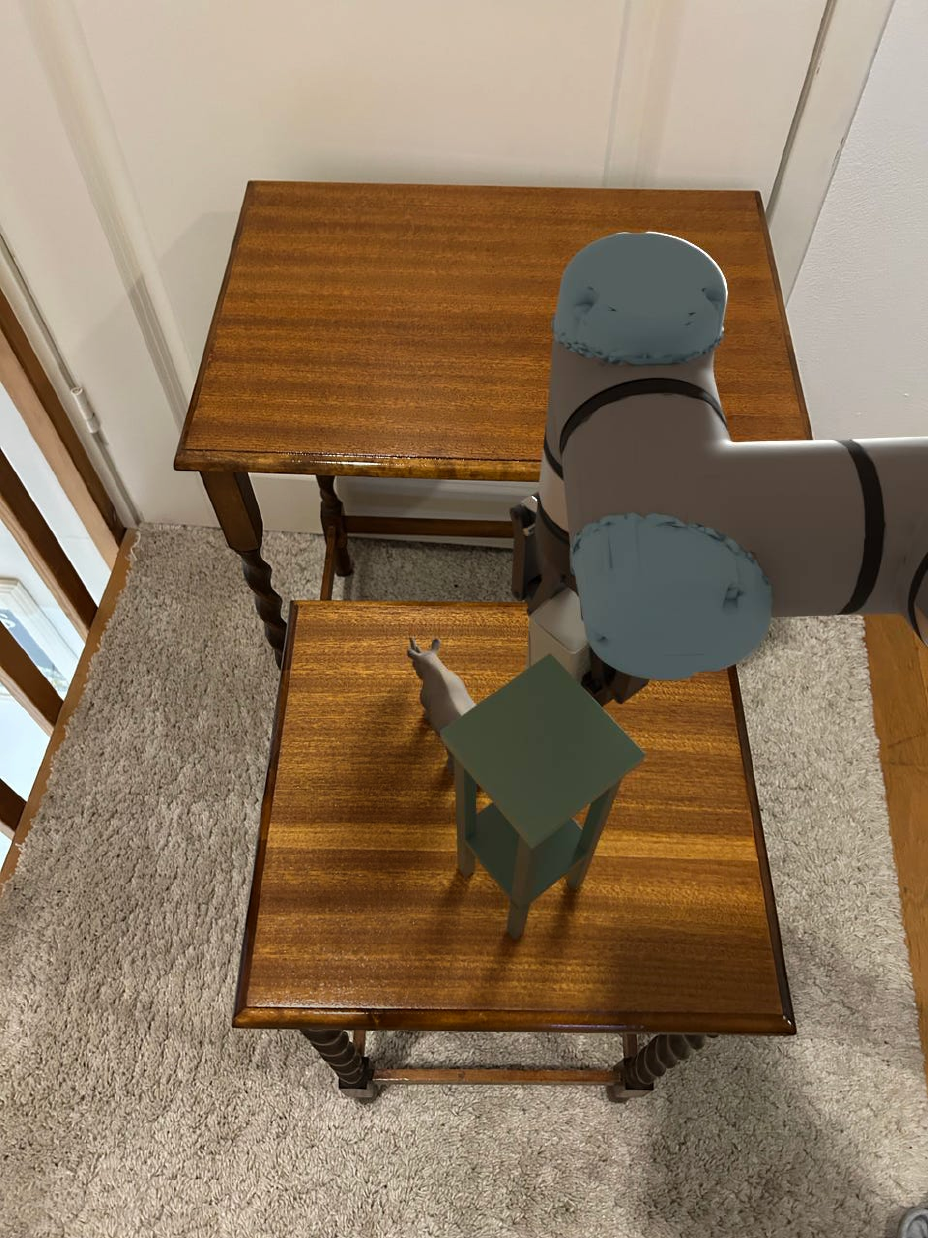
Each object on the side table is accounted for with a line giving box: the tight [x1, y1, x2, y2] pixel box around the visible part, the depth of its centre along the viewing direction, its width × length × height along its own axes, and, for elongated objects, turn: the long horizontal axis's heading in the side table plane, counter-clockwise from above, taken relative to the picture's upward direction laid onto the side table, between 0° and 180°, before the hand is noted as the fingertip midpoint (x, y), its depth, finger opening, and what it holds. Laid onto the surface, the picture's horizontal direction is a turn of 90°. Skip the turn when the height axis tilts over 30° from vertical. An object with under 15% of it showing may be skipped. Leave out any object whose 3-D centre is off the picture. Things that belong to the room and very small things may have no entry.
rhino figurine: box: [406, 635, 477, 774], centre depth 78 cm, size 4×14×6 cm, turn 25°
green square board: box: [440, 653, 646, 849], centre depth 52 cm, size 8×8×1 cm
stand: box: [453, 756, 624, 941], centre depth 62 cm, size 7×7×25 cm
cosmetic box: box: [524, 587, 591, 685], centre depth 69 cm, size 6×4×12 cm
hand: (567, 686), depth 73 cm, fingers closed on cosmetic box, 5 cm apart
